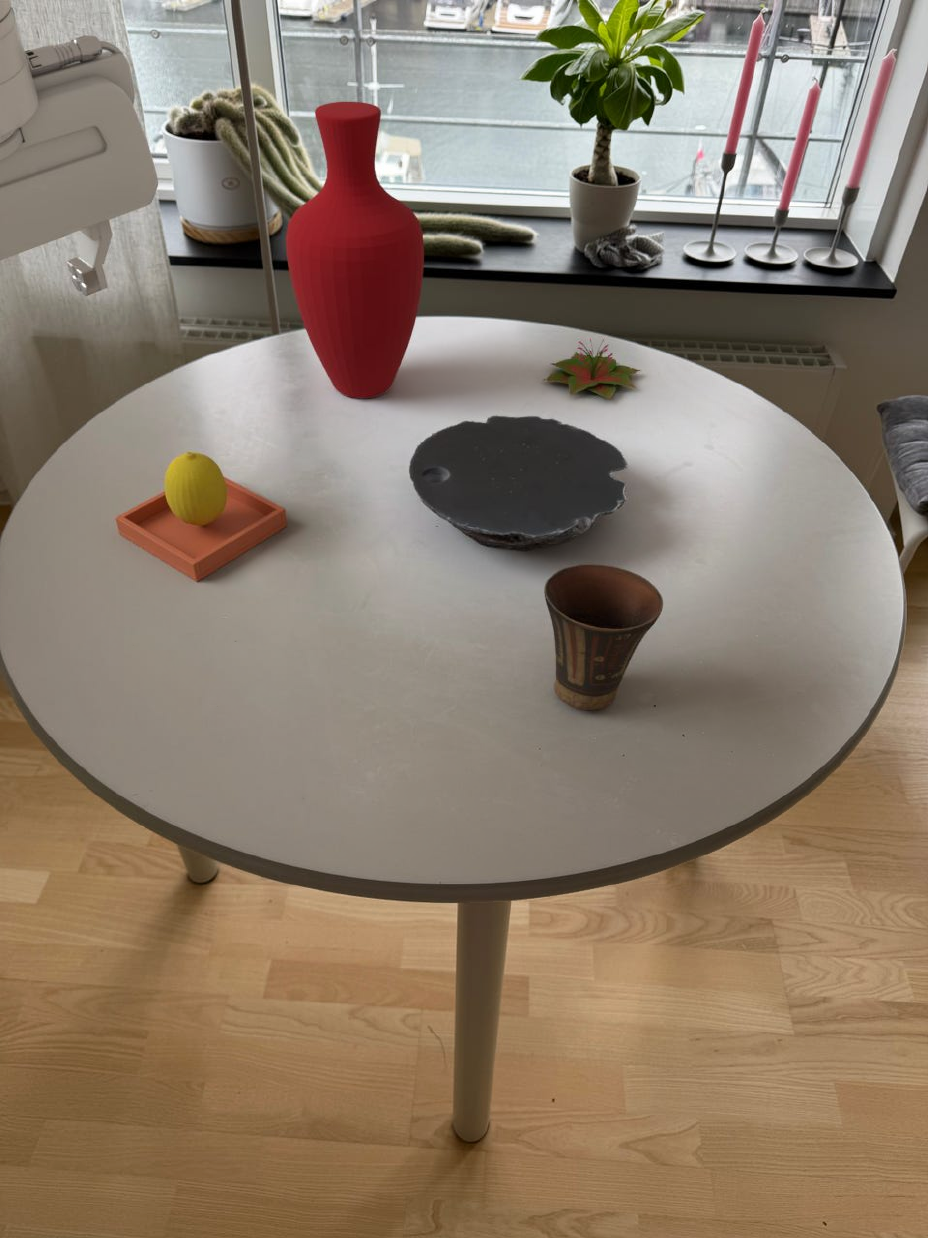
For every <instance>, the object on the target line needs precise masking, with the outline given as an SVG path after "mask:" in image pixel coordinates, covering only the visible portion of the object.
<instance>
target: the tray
mask: <svg viewBox="0 0 928 1238" xmlns="http://www.w3.org/2000/svg"><path fill="white" fill-rule="evenodd" d="M223 477H224V480H225V483H226V487H227V501H226V506H225V508H224V510H223V512H222V514H221V515H220V516H219V517H218V518H217V519H216V520H214V521H213V522H211V523H209V524H206V525H205V526H199V525H191V524H188V523H185V522H183V521H182V520H180V519H179V518H178V517H177V516H176V515H175V514H174V513H173V512H172V510H171V508H170V506H169V504H168V502H167V499H166V495H165V490H164V491H162V492H160V493H158V494H157V495H155V496H152V497H151V498H149V499H147V500H145V501H144V502H141V503H139V504H138V505H136V506H134V507H132V508H130V509H129V510H126V511H124V512H123V513H121V514H119V515H117V516H115V517H114V519H115V523H116V526H117V531H118V533H119V535H120V536H121V537H123V538H124V539H127V540H128V541H129V542H131V543H133V544H135V545H136V546H137V547H139V548H141V549H142V550H144V551H146V552H147V553H149V554H151V555H153V556H154V557H155V558H157V559H159V560H161V561H162V562H164V563H165V564H167V565H168V566H169V567H170V566H171V567H172V568H173V569H175V570H177V571H178V572H180V573H181V574H183V575H185V576H187V577H189V578H190V579H192V580H194V582H196V583H197V582H199V581H200V580H202V579H204V578H206V577H207V576H209V575H210V574H212V573H213V572H215V571H217V570H219V569H221V568H222V567H224V566H225V565H227V564H228V563H230V562H232V561H233V560H235V559H236V558H238V557H240V556H241V555H243V554H244V553H246V552H248V551H249V550H251V549H253V548H254V547H256V546H258V545H259V544H261V543H262V542H264V541H265V540H267V539H268V538H271V537H272V536H273V535H275V534H276V533H278V532H280V531H281V530H283V529H285V528H287V527H288V517H287V511H286V508H284V507H282V506H281V505H279V504H277V503H275V502H273V501H271V500H269V499H267V498H265V497H264V496H262V495H259V494H258V493H256V492H254V491H253V490H251V489H248V488H246V487H244V486H243V485H241V484H239V483H237V482H235V481H233V480H231V479H229V478H228V477H226V476H224V475H223Z"/></svg>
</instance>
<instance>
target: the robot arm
mask: <svg viewBox="0 0 928 1238" xmlns="http://www.w3.org/2000/svg"><path fill="white" fill-rule="evenodd" d="M103 50H105V51H104V52H103ZM134 86H135V85H134V81H133V77H132V73H131V68H130V64H129V61H128V59H127V57H126V56H125V55H124V53H123V52H122V50H121V49H120V48H119V47H117V46H116V45H115V44H113V43H111V42H108V41H105V40H100V39H99V38H98V36H96V35H91V34H90V35H88V34H87V35H81V36H78V37H74V38H72V39H71V41H67V42H63V43H59V44H50V45H46V46H40V47H36V48H33V49H28V50H25V46H24V43H23V40H22V37H21V32H20V29H19V26H18V22H17V19H16V16H15V11H14V8H13V7H12V1H11V0H0V261H2V260H4V259H8V258H10V257H13V256H16V255H19V254H21V253H24V252H27V251H30V250H32V249H36V248H37V247H40V246H42V245H43V246H44V245H45V244H48V243H51V242H54V241H56V240H59V239H61V238H64V237H68V236H70V235H72V234H75V233H77V232H78V233H79V232H81V235H80V240H79V245H78V251H77V256H75V257H74V258H71V259H68V260H66V266H67V268H68V272H70V273H71V275H70V278H71V282H72V284H73V286H74V287H75V289H76V290H77V291H78V292H82V295H84V297H88V296H90V295H93V294H95V293H97V292H100V291H103V290H106V289H108V282H107V278H106V274H105V270H104V266H103V265H104V264H105V262H106V258H107V254H108V251H109V248H110V245H111V241H112V238H113V231H112V227H111V222H110V220H112V219H115V218H118V217H120V216H123V215H125V214H128V213H129V214H130V213H131V212H134V211H137V210H139V209H142V208H144V207H147V206H149V205H151V203H152V202H153V200H154V198H155V195H156V193H157V190H158V187H159V179H158V174H157V170H156V166H155V163H154V160H153V155H152V153H151V149H150V146H149V143H148V140H147V138H146V134H145V132H144V128H143V127H142V124H141V120H140V118H139V116H138V113H137V111H136V108H135V107H134V103H135V96H136V95H135V94H136V93H135V87H134Z"/></svg>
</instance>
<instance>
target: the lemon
mask: <svg viewBox="0 0 928 1238" xmlns="http://www.w3.org/2000/svg"><path fill="white" fill-rule="evenodd" d="M223 476H224V475H223V472H222V470H221V468H220V466H219V465H218V464H217V462H216V461H214V459H212V458H211V457H209V456H207V455H206V454H204V453H200V452H194V451H193V452H192V451H186V452H185V453H182V454H180V455H178V456H177V457H175V458H174V459H173V460H172V461H171V462H170V463H169V465H168V467H167V469H166V472H165V475H164V491H165V495H166V499H167V502H168V504H169V506H170V508H171V510H172V512H173V513H174V514H175V515H176V516H177V517H178V518H179V519H180V520H182V521H183V522H185V523H188V524H191V525H199V526H205V525H206V524H209V523H211V522H213V521H214V520H216V519H217V518H218V517H219V516H220V515H221V514H222V512H223V510H224V508H225V506H226V501H227V487H226V483H225V480H224V477H225V476H224V477H223Z"/></svg>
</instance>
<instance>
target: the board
mask: <svg viewBox="0 0 928 1238" xmlns="http://www.w3.org/2000/svg"><path fill="white" fill-rule="evenodd" d="M628 467H629V466H628V462H627V459H626V458H625V455H624V452H623V451H620V449H619V448H618V447H617V446H616V445H615V444H612V443H610V442H609V441H607V440H605V439H601V438H599V437H597V436H596V435H594V433H592V432H590V431H589V430H585V429H582V428H579V427H577V426H575V425H572V424H568V423H562V422H561V421H560V420H558V419H554V418H542V417H540V416H538V415H527V416H526V415H525V416H509V415H497V414H495V415H491V416H490V417H487V418H486V421H485V422H482V421H474V420H463V421H460V422H459V423H457V424H454V425H450V426H447V427H446V428H442V429H441V430H437V431H436V432H432V434H431V435H430V436H428V437H426V438H425V439H424V440H423V441H421V442H419V444H417V446H416V448H415V451H414V452H413V454H412V456H411V458H410V461H409V467H408V473H409V478H410V480H411V482H412V486H413V488H414V490H415V492H416V494H417V496H418V497H419V499H420V500H421V502H422V503H423V504H424V505H425V506H426V507H427V508H428V509H429V510H430V511H432V513H434V514H435V515H436V516H438V517H439V518H441V519H442V520H443V521H446V522H447V523H449V524H451V525H452V526H453V527H454V528H455V529H457V530H458V531H460V532H461V534H463V535H464V536H467V537H469V538H470V539H471V540H473V541H475V542H476V543H477V544H479V545H481V546H483V547H484V546H485V547H488V548H495V549H504V550H510V549H512V550H519V551H524V552H525V551H529V550H534V549H536V547H537V548H539V547H544V546H546V547H547V546H551V545H553V544H554V545H558V544H561V543H564V542H567V541H569V540H571V539H572V538H574V537H576V536H580V535H581V536H582V534H584V533H585V532H586V531H588V530H589V529H591V528H592V526H593V524H594V522H595V519H596V517H601V516H606V515H607V516H608V515H609V516H610V515H613V514H614V513H615V512H616V511H617V510H618V509H620V508H621V507H623V505H624V504H625V503H626V502H627V501H628V497H627V496H626V494H625V493H626V490H627V489H626V488H627V484H626V482H623V481H620V480H618V479H615V478H614V477H613V476H612V475H611V474H612V473H615V472H620V471H624V470H626V469H628Z"/></svg>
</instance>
